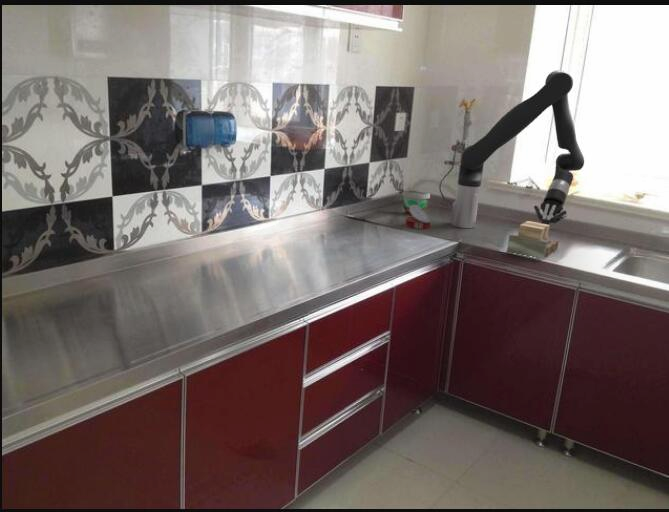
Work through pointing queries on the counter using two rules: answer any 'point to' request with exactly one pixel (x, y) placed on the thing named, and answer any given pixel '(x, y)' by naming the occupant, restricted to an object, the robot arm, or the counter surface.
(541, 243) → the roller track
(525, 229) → the cardboard box
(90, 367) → the counter surface
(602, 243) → the counter surface
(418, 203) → the food container
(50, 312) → the counter surface
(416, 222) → the canned food
